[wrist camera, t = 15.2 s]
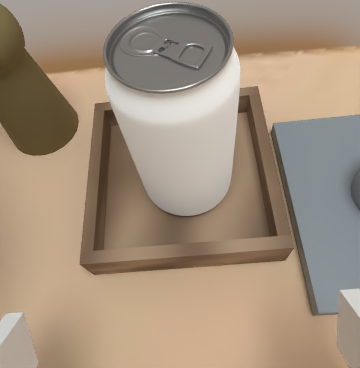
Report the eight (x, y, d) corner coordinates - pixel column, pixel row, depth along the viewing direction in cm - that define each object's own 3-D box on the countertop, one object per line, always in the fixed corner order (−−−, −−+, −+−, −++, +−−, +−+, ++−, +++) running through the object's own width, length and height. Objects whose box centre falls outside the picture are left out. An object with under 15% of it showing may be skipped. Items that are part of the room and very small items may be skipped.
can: (169, 133, 27) (140, -16, 16) (244, 159, 25) (266, 11, 14) (129, 198, 24) (62, 73, 13) (209, 233, 22) (204, 120, 12)
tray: (94, 274, 22) (79, 264, 20) (105, 125, 29) (94, 103, 26) (285, 260, 22) (294, 247, 19) (253, 110, 28) (257, 86, 25)
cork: (65, 158, 27) (-16, 50, 18) (1, 152, 28) (-109, 46, 19) (87, 103, 30) (26, -17, 20) (27, 99, 31) (-57, -17, 21)
